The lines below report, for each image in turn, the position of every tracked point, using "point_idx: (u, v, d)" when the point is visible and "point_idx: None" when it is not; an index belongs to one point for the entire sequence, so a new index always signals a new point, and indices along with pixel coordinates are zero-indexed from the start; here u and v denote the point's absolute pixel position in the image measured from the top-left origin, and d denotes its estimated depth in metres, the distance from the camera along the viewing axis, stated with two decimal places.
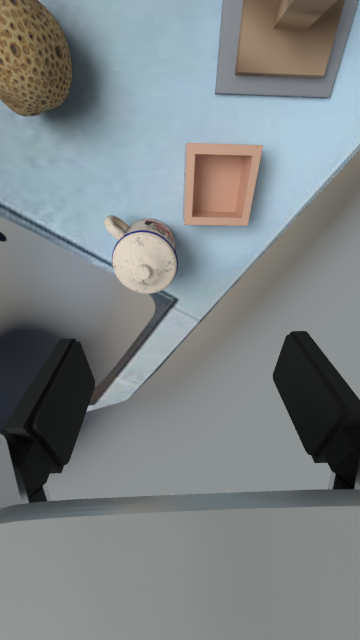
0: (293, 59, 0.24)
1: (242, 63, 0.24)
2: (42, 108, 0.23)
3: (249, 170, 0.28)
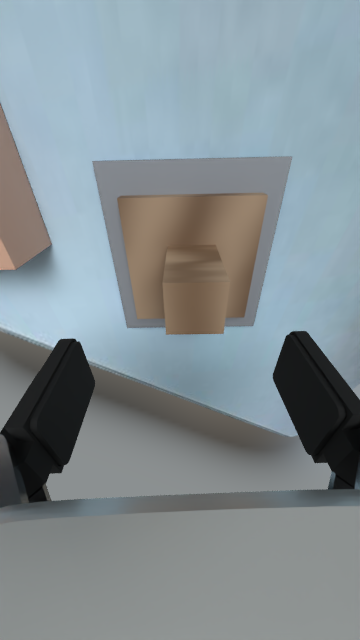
0: (144, 281, 0.18)
1: (127, 206, 0.15)
2: None
3: None
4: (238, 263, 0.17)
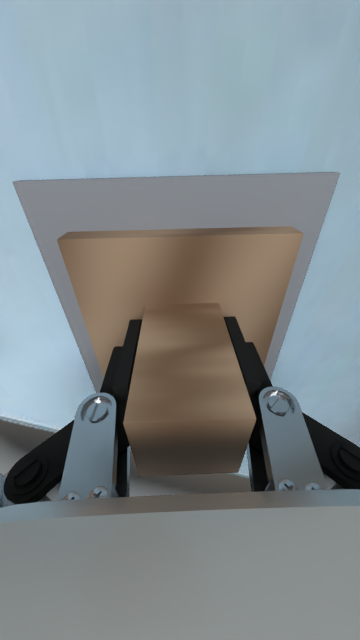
0: None
1: (76, 251, 0.09)
2: None
3: None
4: (251, 325, 0.12)
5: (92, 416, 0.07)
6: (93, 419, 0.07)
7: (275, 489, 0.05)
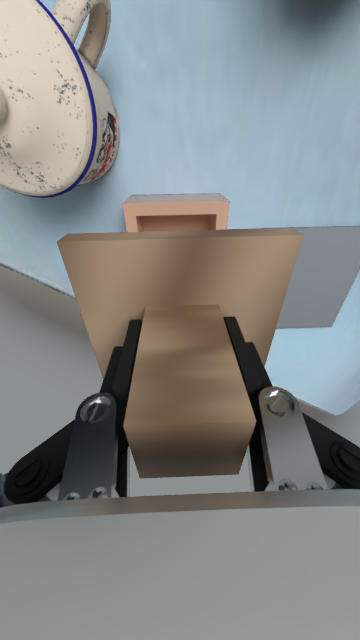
0: None
1: (76, 253, 0.09)
2: None
3: None
4: (252, 327, 0.12)
5: (92, 416, 0.07)
6: (93, 419, 0.07)
7: (275, 489, 0.05)
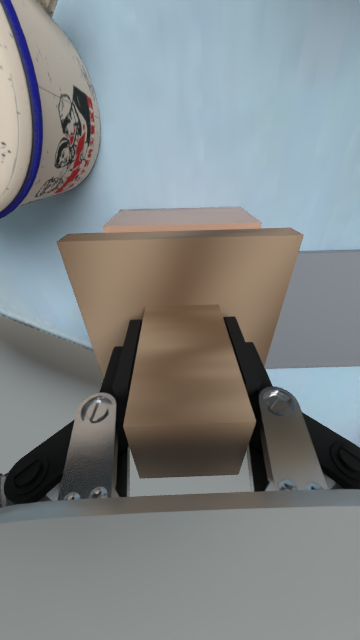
0: None
1: (76, 253, 0.09)
2: None
3: None
4: (252, 326, 0.12)
5: (92, 416, 0.07)
6: (93, 419, 0.07)
7: (275, 489, 0.05)
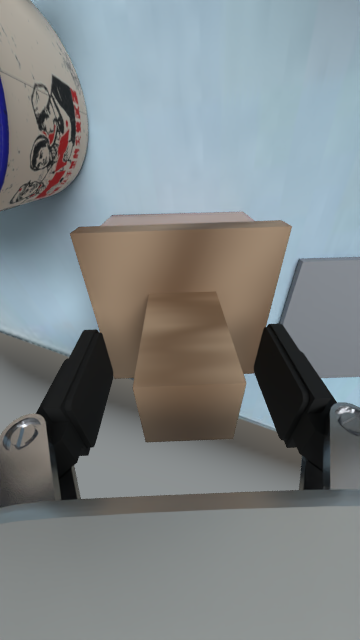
0: (119, 336, 0.13)
1: (87, 244, 0.10)
2: None
3: None
4: (247, 313, 0.13)
5: (19, 442, 0.06)
6: (21, 444, 0.06)
7: None
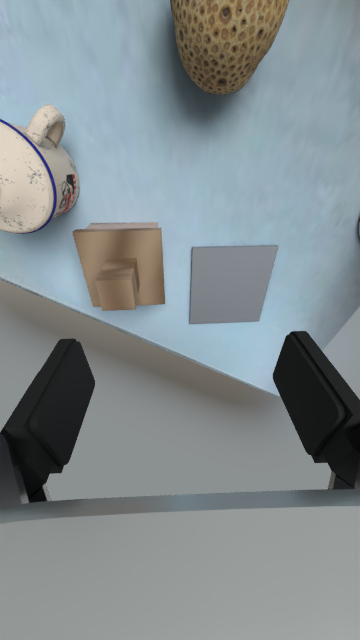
0: (94, 281, 0.29)
1: (79, 236, 0.25)
2: (176, 27, 0.17)
3: None
4: (153, 269, 0.28)
5: None
6: None
7: None
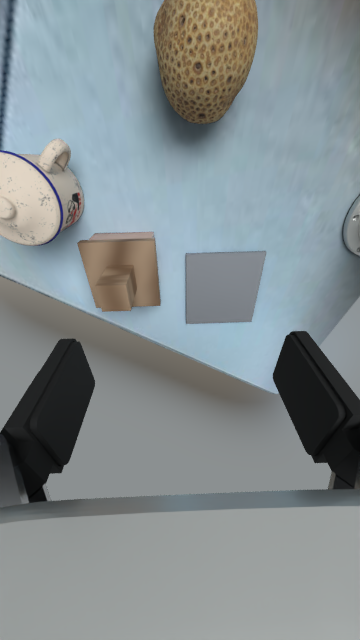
0: None
1: (83, 246, 0.29)
2: (160, 74, 0.20)
3: None
4: (148, 274, 0.32)
5: None
6: None
7: None
